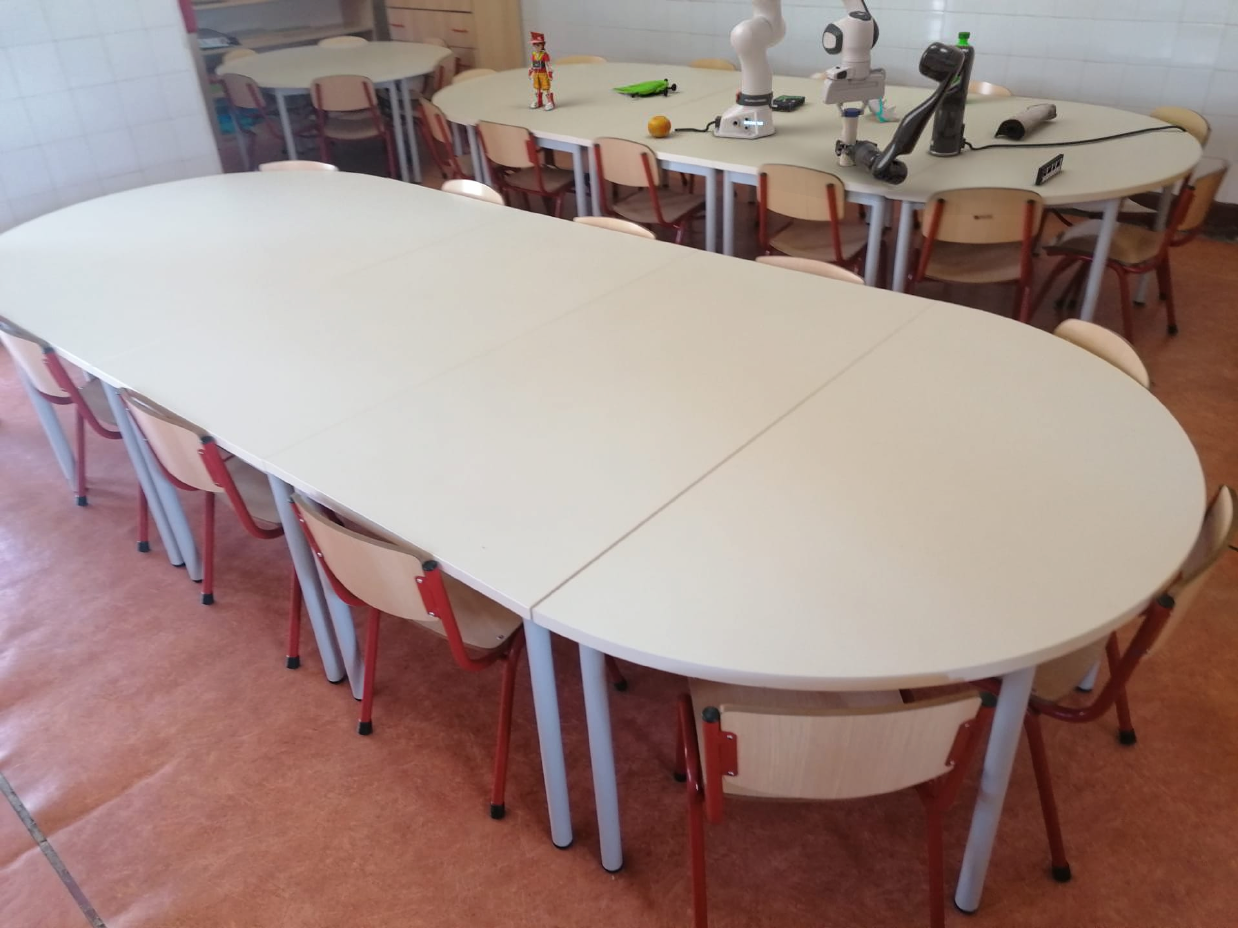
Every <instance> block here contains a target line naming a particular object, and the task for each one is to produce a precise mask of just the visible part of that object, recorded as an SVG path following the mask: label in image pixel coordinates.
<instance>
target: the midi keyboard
mask: <svg viewBox="0 0 1238 928" xmlns="http://www.w3.org/2000/svg"><path fill="white" fill-rule="evenodd" d="M1064 157H1065V153H1059V154H1058V155H1056V156H1055V157H1052V159H1051V160H1049V161H1047V162H1045V164H1042V165H1041V166H1039V167H1038V169H1037V175H1036V179H1035V186H1040V185H1042V183H1044V182H1045V181H1047V180H1048V179H1049V178H1051V177H1052V176H1054V175H1055V174H1056V173H1058V172H1060V171H1061V170H1062V165H1063V161H1064Z"/></svg>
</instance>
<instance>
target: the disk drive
mask: <svg viewBox="0 0 1238 928" xmlns="http://www.w3.org/2000/svg"><path fill="white" fill-rule="evenodd" d="M805 103H806V96H802V95H801V96H800V95H787V94H782V95H779V96H778V97H775V98H773V106H772V111H778V112H779V111H781V112H792V111H793V110H795V109H797V108H799V107H801V106H802V105H803V104H805Z"/></svg>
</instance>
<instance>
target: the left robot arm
mask: <svg viewBox="0 0 1238 928" xmlns="http://www.w3.org/2000/svg"><path fill="white" fill-rule="evenodd" d="M750 1H751V3H752V7H753V15H752V18H747V19H745V20H743V21H741V22H740V23H738V24H737V25H736V26H734V28H733V29H732V31H731V33H730V39H729V40H730V45H731V48H732V49H733V51H735V53H736V55H737V56H738V60H739V63H740V69H741V90H737V91H736V92H735V103H734V104H733V105H732V106H730V107H729V108H727V110H726V111H724V113H722V114H721V115H717V116H716V117H715V119H714V120H712V121H710V122H708V123H707V124H706V127H705V128H704V129H699V128H693V127H680V128H674V132H697V133H706V132H708V131H709V129H710V126H711V125H714V130H713V135H714V136H715V137H721V138H722V137H723V138H736V139H737V138H738V139H750V140H753V139H754V140H755V139H758V138H761V137H766V136H770V135H773V134H774V133H775V132H776V131H775V127H774V120H773V110H772V106H773V100H774V91H773V77H774V76H773V75H774V69H773V67H772V65H770V63H769V61H768V57H767V49H770V48H774V47H775V46H777V45H778V44H779V43H780V42H782V41H783V39H784V38H785V36H786V33H787V25H786V22H785V19H784V18H783V14H782V0H750ZM841 2H842V3H843V5H844V7H845V10H846V12H847V14H846V16H845V17H843V18H841V19H839V20H837V21H833V22H830V23H829V24H827V25H826V27H825V28H824V30H823V34H822V37H821V38H822V39H821V41H822V47H823V50H824V51H825V52H826V53H827V54H828V55H832V56H839V55H841V56H842V58H841V62H840V63H838V64H837V65H834V66H832V67H830V68H828V69H826V70H825V77H826V78H825V79H824V81H823V83H822V88H821V98H820V99H821V102H822V103H823V104H825V105H835V106H836V108H837V110H838V117H839V118H844V117H845V113H846V112H845V111H844V109H843V107H844V104H847V103H855V102H861V103H862V105H861V106H860V108H859V109H860V115H859V116H864V115H865V110H866V109H867V108H868V104H869V100H874V99H882V98H883V97H884V96H885V93H886V82H885V80H886V76H887V72H886V69H884V68H883V67H881V66H880V67H871V64H872V63H871V62H872V55H871V52H872V50H873V49H874V47H875V45H877V42H878V40H879V37H880V29H879V25H878V22H877V21H876V20H875V18H874V16H873V15H872V14H871V13H870V10H869V8H868V6H867V5H866V2H865V0H841ZM883 99H884V98H883ZM883 99H882V100H883Z"/></svg>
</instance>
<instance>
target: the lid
mask: <svg viewBox="0 0 1238 928" xmlns="http://www.w3.org/2000/svg"><path fill="white" fill-rule="evenodd" d="M843 110H844V111H845V112H846V113H845V116H847V117H856V116H859V117H860V116H861V115H860V108H858V107H846V108H844V109H843Z"/></svg>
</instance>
